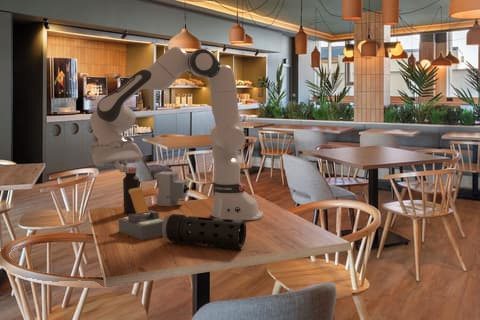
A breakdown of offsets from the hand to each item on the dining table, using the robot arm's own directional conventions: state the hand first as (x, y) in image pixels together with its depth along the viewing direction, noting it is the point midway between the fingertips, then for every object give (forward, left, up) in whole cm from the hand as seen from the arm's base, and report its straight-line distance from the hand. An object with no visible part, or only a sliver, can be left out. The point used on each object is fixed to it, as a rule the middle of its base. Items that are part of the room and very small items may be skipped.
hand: (124, 171), depth 200 cm
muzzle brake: (-38, +17, -22) cm, 47 cm away
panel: (-11, +7, -22) cm, 25 cm away
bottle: (+8, -22, -22) cm, 32 cm away
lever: (-11, +7, -15) cm, 20 cm away
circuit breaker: (-4, -42, -22) cm, 48 cm away
